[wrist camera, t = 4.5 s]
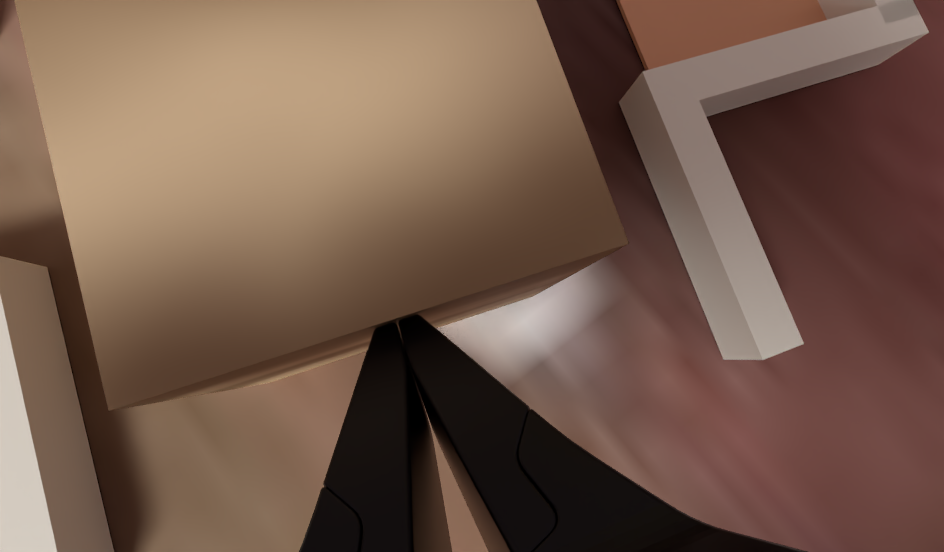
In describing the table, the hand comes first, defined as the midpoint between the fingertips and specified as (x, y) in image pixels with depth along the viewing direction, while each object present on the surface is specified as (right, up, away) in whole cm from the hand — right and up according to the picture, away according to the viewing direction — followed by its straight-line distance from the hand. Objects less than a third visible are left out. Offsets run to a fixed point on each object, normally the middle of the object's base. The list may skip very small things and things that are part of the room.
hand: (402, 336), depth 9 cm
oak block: (-3, +6, +8) cm, 10 cm away
